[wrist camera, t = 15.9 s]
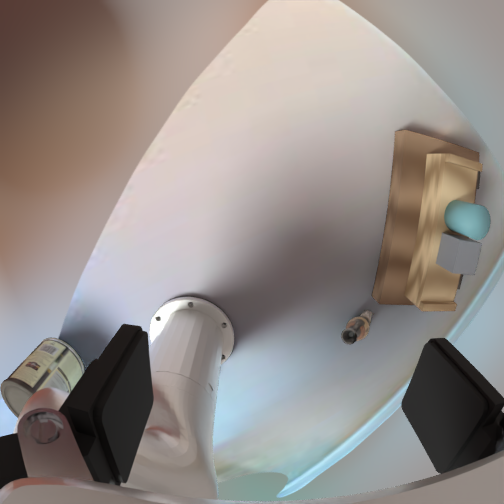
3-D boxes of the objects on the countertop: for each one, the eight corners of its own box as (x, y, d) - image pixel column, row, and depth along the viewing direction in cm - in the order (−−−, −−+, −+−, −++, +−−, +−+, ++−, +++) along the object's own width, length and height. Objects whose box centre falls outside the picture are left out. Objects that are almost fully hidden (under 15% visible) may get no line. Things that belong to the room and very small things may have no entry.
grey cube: (457, 265, 35) (474, 275, 31) (435, 263, 35) (452, 273, 31) (463, 236, 34) (482, 243, 30) (441, 232, 34) (460, 240, 30)
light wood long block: (435, 295, 41) (454, 310, 35) (404, 295, 41) (422, 311, 35) (458, 162, 36) (482, 164, 30) (426, 153, 35) (449, 153, 30)
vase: (327, 333, 45) (337, 351, 39) (340, 300, 44) (353, 315, 38) (357, 340, 46) (370, 358, 40) (370, 308, 45) (386, 323, 39)
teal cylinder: (463, 232, 34) (486, 241, 29) (441, 229, 33) (464, 238, 29) (468, 202, 33) (492, 208, 28) (446, 197, 32) (470, 202, 28)
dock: (447, 297, 44) (456, 304, 41) (371, 296, 44) (379, 304, 41) (472, 154, 38) (483, 154, 35) (395, 131, 37) (405, 129, 35)
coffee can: (58, 385, 48) (25, 430, 34) (31, 341, 45) (-10, 382, 32) (95, 380, 47) (63, 432, 34) (67, 332, 45) (24, 379, 31)
